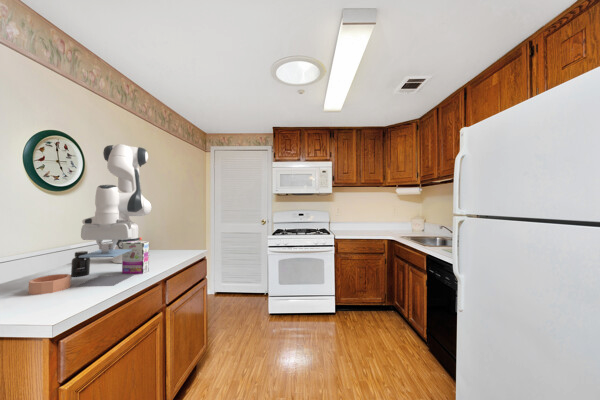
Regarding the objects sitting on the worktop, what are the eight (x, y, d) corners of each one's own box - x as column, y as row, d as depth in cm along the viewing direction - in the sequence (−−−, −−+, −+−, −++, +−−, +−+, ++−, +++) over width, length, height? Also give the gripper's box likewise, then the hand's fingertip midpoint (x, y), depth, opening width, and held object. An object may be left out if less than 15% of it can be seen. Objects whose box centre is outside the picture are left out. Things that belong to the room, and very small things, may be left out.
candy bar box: (149, 272, 129) (149, 241, 129) (142, 274, 124) (143, 242, 124) (128, 271, 129) (129, 240, 129) (121, 274, 124) (122, 242, 124)
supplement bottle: (78, 278, 117) (79, 253, 117) (67, 277, 118) (67, 253, 118) (93, 274, 124) (93, 250, 124) (82, 273, 125) (82, 250, 125)
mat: (99, 276, 120) (99, 275, 120) (134, 276, 122) (134, 275, 122) (73, 288, 104) (73, 286, 104) (113, 286, 106) (113, 285, 106)
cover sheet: (101, 250, 120) (101, 241, 120) (131, 250, 121) (131, 241, 121) (78, 257, 106) (78, 247, 106) (113, 257, 107) (113, 246, 107)
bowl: (47, 285, 107) (48, 274, 107) (77, 284, 108) (78, 273, 108) (19, 296, 95) (19, 283, 95) (53, 295, 96) (54, 282, 96)
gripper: (135, 219, 118) (134, 247, 118) (88, 218, 115) (88, 248, 116) (127, 220, 111) (127, 250, 112) (78, 220, 109) (78, 250, 109)
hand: (107, 249), depth 114 cm, fingers closed on cover sheet, 3 cm apart
